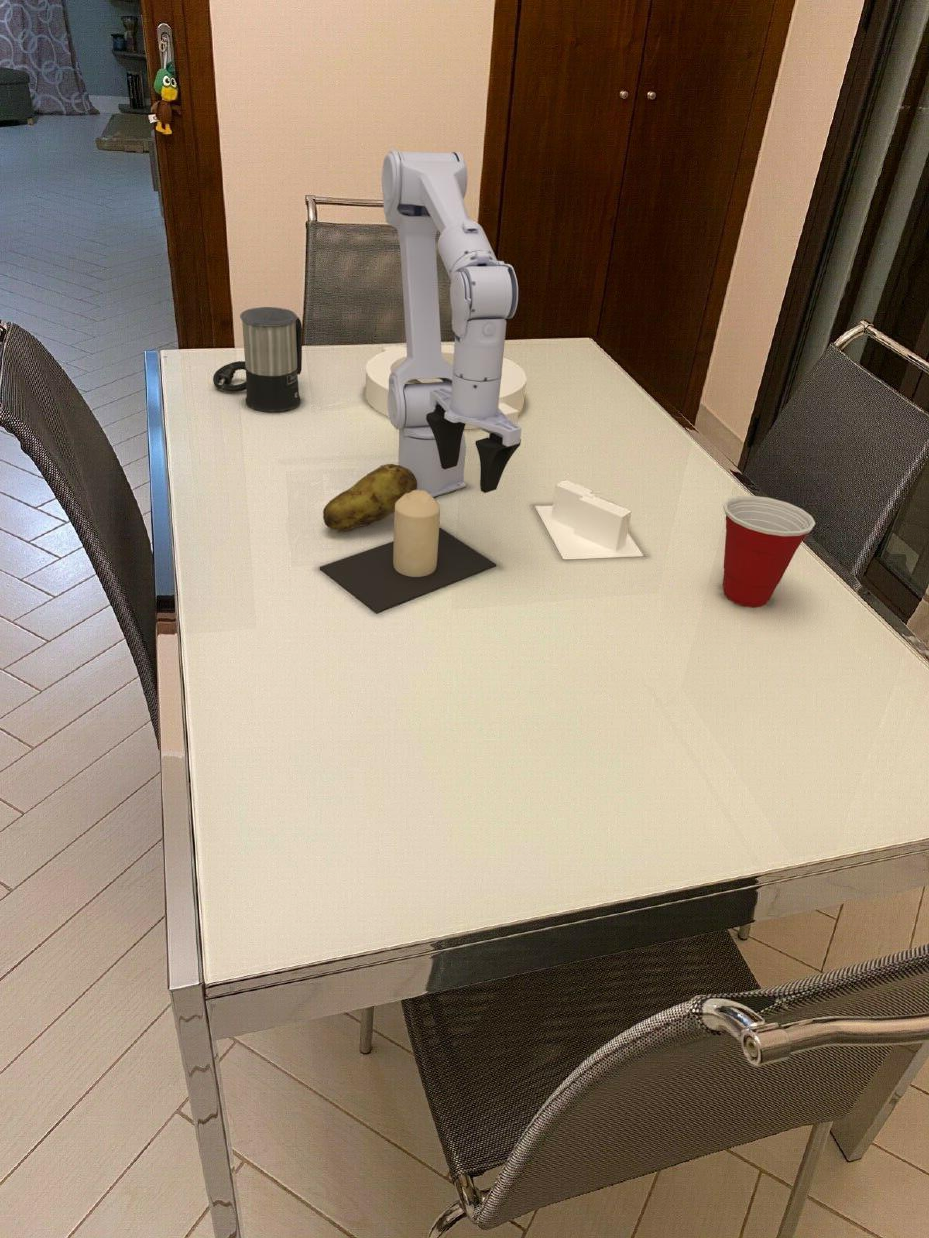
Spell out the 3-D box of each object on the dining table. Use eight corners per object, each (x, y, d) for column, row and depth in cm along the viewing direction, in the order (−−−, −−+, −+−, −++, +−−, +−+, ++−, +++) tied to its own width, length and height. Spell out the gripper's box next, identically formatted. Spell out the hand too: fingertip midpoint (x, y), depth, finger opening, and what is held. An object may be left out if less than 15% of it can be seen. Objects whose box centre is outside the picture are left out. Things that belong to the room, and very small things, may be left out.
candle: (431, 580, 116) (435, 508, 110) (387, 573, 117) (390, 501, 111) (440, 558, 120) (445, 488, 115) (399, 552, 121) (401, 481, 115)
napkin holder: (645, 556, 125) (652, 518, 122) (563, 560, 123) (569, 521, 120) (608, 503, 137) (614, 467, 134) (533, 506, 135) (537, 469, 132)
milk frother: (295, 415, 156) (293, 326, 147) (200, 408, 155) (191, 318, 147) (308, 384, 167) (306, 300, 159) (219, 378, 167) (212, 293, 158)
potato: (318, 510, 129) (317, 457, 125) (411, 507, 132) (413, 454, 128) (324, 541, 123) (324, 485, 118) (421, 536, 125) (424, 482, 121)
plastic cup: (791, 583, 122) (817, 501, 115) (787, 627, 114) (815, 540, 107) (707, 564, 125) (728, 483, 118) (697, 605, 116) (719, 520, 109)
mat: (437, 527, 128) (437, 525, 128) (496, 566, 121) (496, 564, 120) (319, 568, 117) (319, 566, 117) (376, 613, 110) (376, 611, 110)
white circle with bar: (383, 362, 179) (384, 337, 177) (529, 379, 177) (532, 354, 175) (349, 418, 156) (349, 390, 154) (515, 438, 154) (518, 410, 152)
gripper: (411, 359, 112) (407, 464, 119) (493, 399, 103) (482, 509, 111) (457, 350, 116) (450, 451, 123) (538, 388, 107) (526, 494, 115)
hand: (468, 478), depth 117 cm, fingers open, 7 cm apart
